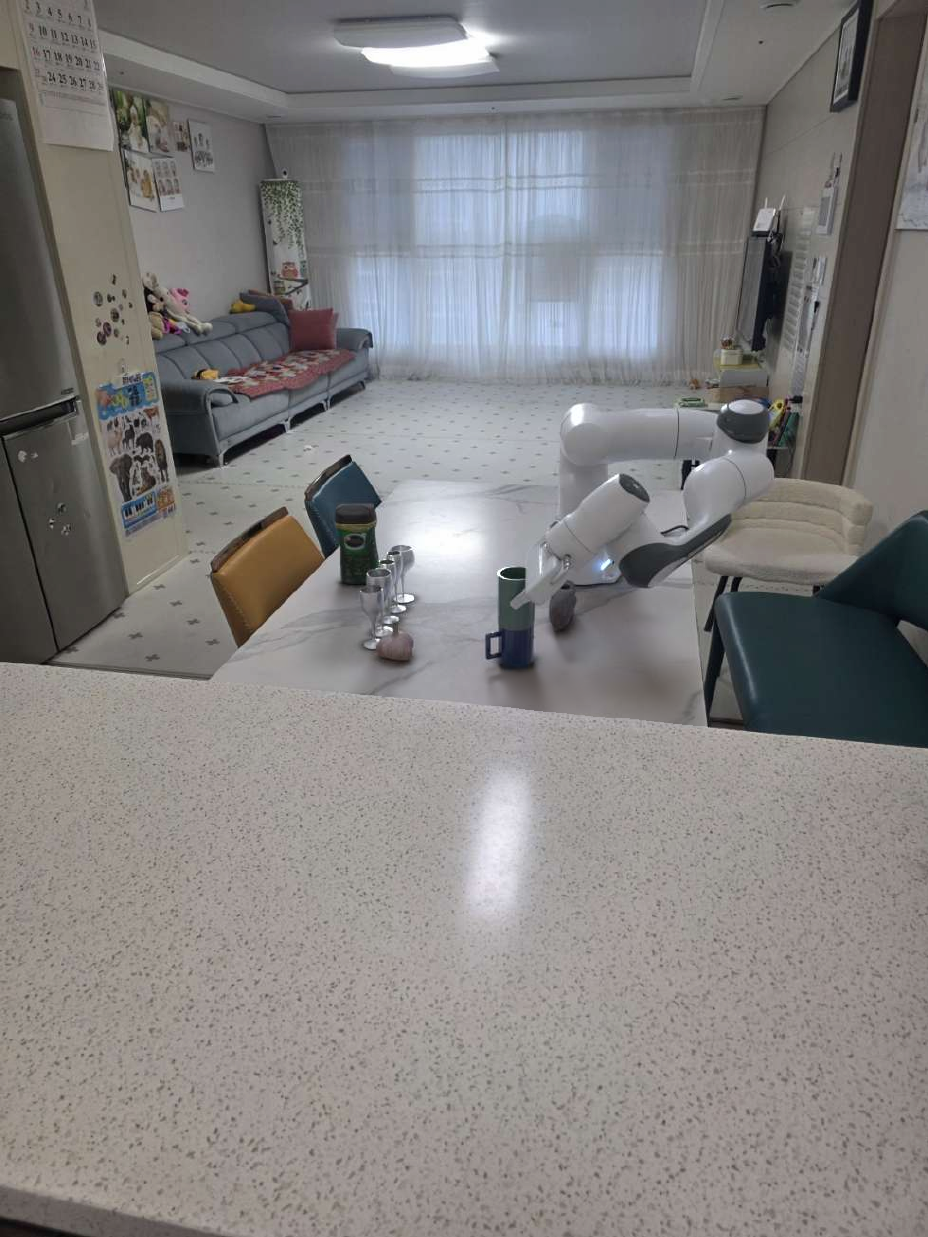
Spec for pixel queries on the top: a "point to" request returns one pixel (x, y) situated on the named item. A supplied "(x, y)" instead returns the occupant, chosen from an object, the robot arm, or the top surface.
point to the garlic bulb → (395, 644)
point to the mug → (512, 647)
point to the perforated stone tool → (562, 605)
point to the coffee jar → (356, 541)
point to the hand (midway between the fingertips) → (512, 596)
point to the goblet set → (386, 590)
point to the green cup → (507, 588)
